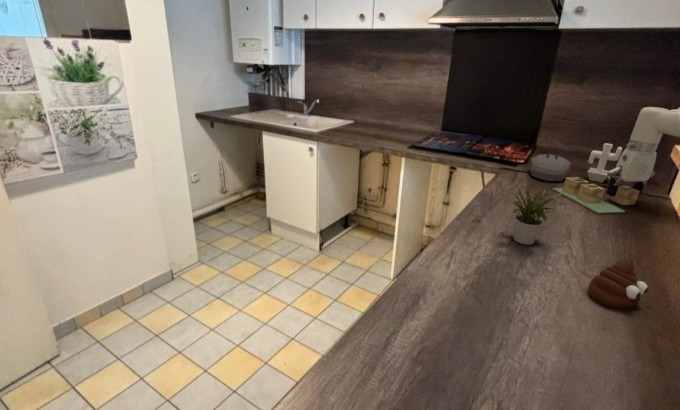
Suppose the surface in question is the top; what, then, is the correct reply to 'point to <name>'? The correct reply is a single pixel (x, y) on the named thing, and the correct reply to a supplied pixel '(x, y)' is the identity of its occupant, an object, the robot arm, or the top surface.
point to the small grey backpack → (549, 167)
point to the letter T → (625, 196)
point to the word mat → (592, 204)
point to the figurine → (602, 162)
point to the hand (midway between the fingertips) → (622, 194)
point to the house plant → (529, 216)
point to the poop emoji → (618, 285)
